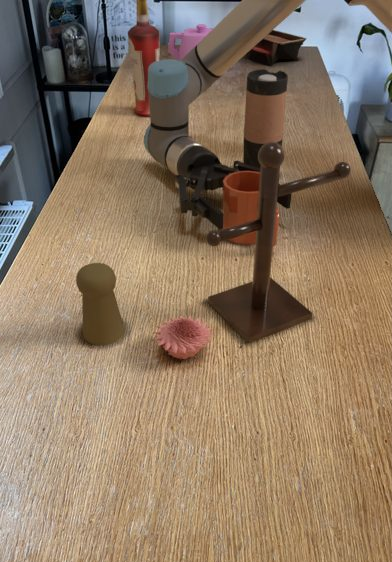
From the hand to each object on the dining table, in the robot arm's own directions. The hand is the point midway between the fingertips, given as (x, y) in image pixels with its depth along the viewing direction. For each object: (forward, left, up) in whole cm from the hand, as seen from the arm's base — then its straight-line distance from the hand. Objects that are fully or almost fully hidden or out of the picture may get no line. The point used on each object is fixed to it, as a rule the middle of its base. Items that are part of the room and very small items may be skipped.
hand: (256, 211), depth 98 cm
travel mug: (+2, -25, -6) cm, 26 cm away
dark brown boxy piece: (+8, -108, -6) cm, 109 cm away
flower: (+6, +31, -6) cm, 32 cm away
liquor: (+34, -56, -6) cm, 66 cm away
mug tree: (-5, +18, -6) cm, 20 cm away
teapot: (+27, -92, -6) cm, 96 cm away
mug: (0, 0, -6) cm, 6 cm away
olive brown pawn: (+18, +29, -6) cm, 34 cm away
